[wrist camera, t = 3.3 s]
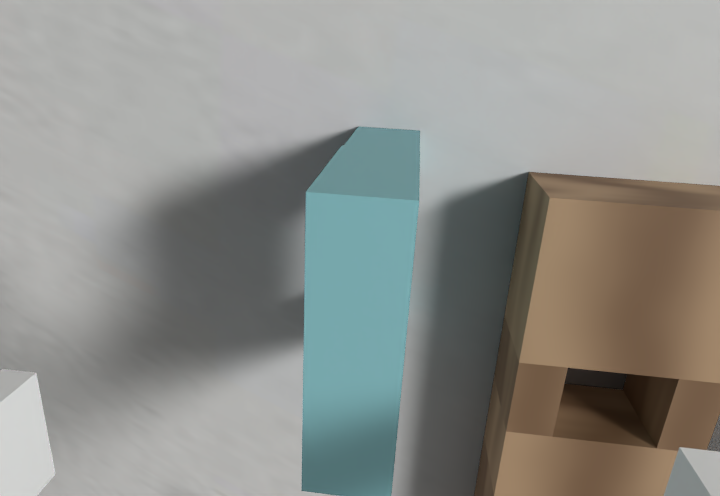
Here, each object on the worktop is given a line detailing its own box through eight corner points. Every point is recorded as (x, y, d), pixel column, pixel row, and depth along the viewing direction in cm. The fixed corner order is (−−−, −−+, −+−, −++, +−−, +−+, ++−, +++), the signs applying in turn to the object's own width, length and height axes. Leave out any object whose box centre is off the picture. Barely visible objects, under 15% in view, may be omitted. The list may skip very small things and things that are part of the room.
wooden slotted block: (460, 574, 31) (465, 646, 27) (528, 171, 22) (550, 197, 19) (601, 594, 30) (626, 670, 27) (728, 186, 22) (791, 216, 18)
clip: (349, 313, 26) (301, 490, 16) (358, 124, 22) (305, 191, 12) (402, 318, 26) (390, 501, 15) (420, 128, 22) (418, 201, 12)
